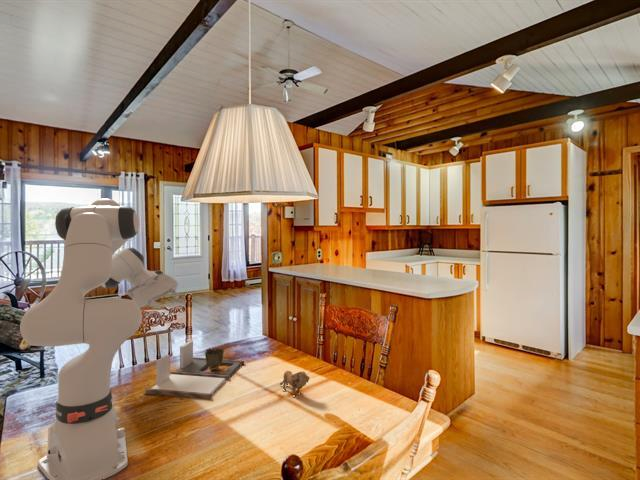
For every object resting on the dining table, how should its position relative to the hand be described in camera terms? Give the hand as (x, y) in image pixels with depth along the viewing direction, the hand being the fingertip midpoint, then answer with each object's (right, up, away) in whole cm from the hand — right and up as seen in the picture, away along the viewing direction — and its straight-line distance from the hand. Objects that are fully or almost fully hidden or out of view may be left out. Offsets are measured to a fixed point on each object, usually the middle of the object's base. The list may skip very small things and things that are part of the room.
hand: (169, 302), depth 148 cm
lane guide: (+16, -28, -9) cm, 33 cm away
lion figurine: (+53, -29, -21) cm, 64 cm away
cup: (+19, -28, -1) cm, 34 cm away
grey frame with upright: (+17, -28, -1) cm, 33 cm away
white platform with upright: (+15, -28, -18) cm, 36 cm away
